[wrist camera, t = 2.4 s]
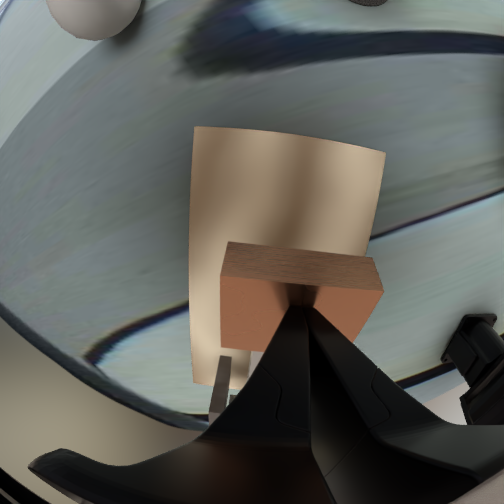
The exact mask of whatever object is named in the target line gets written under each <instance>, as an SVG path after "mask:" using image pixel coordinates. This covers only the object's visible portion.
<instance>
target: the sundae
mask: <svg viewBox="0 0 504 504" xmlns="http://www.w3.org/2000/svg"><path fill="white" fill-rule="evenodd" d="M350 1H352V2H355V3H358V4H361V5H365V6H378V5H381V4H383V3H385V2H386V1H387V0H350Z"/></svg>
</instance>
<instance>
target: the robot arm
mask: <svg viewBox="0 0 504 504" xmlns="http://www.w3.org/2000/svg"><path fill="white" fill-rule="evenodd" d="M496 320H497V316H496V315H495V314H486V315H466V316H465V317H464V318H463V320H462V322H461V324H460V326H459V328H458V330H457V332H456V333H455V335H454V337H453V339H452V341H451V343H450V344H449V346H448V348H447V350H446V351H445V353H444V355H443V356H442V358H441V361H442V363H450V362H453V363H454V364H455V366H456V368H457V369H458V371H459V372H460V374H461V376H463V377H464V379H465V380H466V382H467V384H468V385H469V387H470V389H469V390H468V391H467V392H466V393H465V394H463V395H462V396H461V397H460V401H461V407H462V409H463V413H464V416H465V419H466V422H467V425H457V424H452V423H449V422H447V421H445V420H443V419H441V418H440V417H438V416H437V415H435V414H434V413H433V412H431V411H430V410H429V409H427V408H426V407H425V406H423V405H422V404H421V403H420V402H418V401H417V400H416V399H414V398H413V397H412V396H411V395H409V394H408V393H407V392H406V391H404V390H403V389H402V388H401V387H399V386H398V385H397V384H396V383H395V382H394V381H393V380H391V379H390V378H389V377H388V376H387V375H386V374H385V373H384V372H383V371H382V370H381V369H380V368H377V366H376V365H375V364H374V363H373V362H372V361H371V360H370V359H369V358H368V357H367V356H366V355H365V354H364V353H362V352H361V351H360V350H359V349H358V348H357V347H356V346H355V345H354V344H353V343H352V342H351V341H350V340H349V339H348V338H347V337H345V336H344V335H343V334H342V333H341V332H340V331H339V330H338V329H337V328H336V327H335V326H334V325H333V324H332V323H331V322H330V321H329V320H327V319H326V318H325V317H324V316H323V315H322V314H321V313H320V312H319V311H318V310H317V309H316V308H314V307H305V306H304V307H301V306H293V305H289V306H288V308H287V310H286V312H285V314H284V316H283V318H282V319H281V321H280V323H279V325H278V327H277V329H276V331H275V333H274V335H273V337H272V338H271V340H270V342H269V344H268V346H267V348H266V350H265V351H264V353H263V355H262V357H261V359H260V361H259V362H258V364H257V366H256V367H255V369H254V371H253V373H252V374H251V376H250V378H249V379H248V381H247V382H246V384H245V385H244V387H243V388H242V389H241V390H240V392H239V393H238V394H237V396H236V397H235V398H234V399H233V400H232V401H231V403H230V404H229V405H228V406H227V407H226V408H225V409H224V410H223V412H222V413H221V414H220V415H219V416H218V417H217V418H216V419H215V420H214V421H213V423H212V424H211V425H210V426H209V427H208V428H207V429H206V430H205V431H204V432H203V433H202V434H200V435H199V436H198V437H197V438H195V439H194V440H192V441H191V442H189V443H187V444H185V445H182V446H180V447H178V448H175V449H173V450H171V451H168V452H166V453H163V454H161V455H158V456H156V457H153V458H151V459H148V460H145V461H143V462H140V463H137V464H133V465H128V466H114V465H107V464H103V463H100V462H97V461H95V460H92V459H90V458H88V457H85V456H83V455H81V454H79V453H76V452H74V451H71V450H68V449H62V448H60V449H57V450H55V451H52V452H49V453H46V454H44V455H42V456H39V457H38V458H36V459H35V460H34V461H32V462H31V463H30V464H29V465H28V469H29V470H30V471H31V472H32V473H34V474H35V475H36V476H38V477H39V478H40V479H42V480H43V481H45V482H46V483H48V484H49V485H50V486H52V487H53V488H55V489H56V490H58V491H59V492H61V493H62V494H64V495H66V496H67V497H69V498H71V499H72V500H74V501H76V502H77V503H79V504H504V341H503V340H502V338H501V337H500V336H499V335H498V334H497V332H496V331H495V330H494V329H493V328H492V327H493V325H494V324H495V322H496ZM0 504H51V503H49V502H48V501H46V500H45V499H43V498H41V497H40V496H38V495H37V494H35V493H34V492H32V491H31V490H30V489H28V488H27V487H25V486H24V485H22V484H21V483H20V482H18V481H17V480H16V479H14V478H13V477H12V476H11V475H9V474H8V473H7V472H6V471H4V470H3V469H2V468H1V467H0Z"/></svg>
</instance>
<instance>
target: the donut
mask: <svg viewBox="0 0 504 504" xmlns="http://www.w3.org/2000/svg"><path fill="white" fill-rule="evenodd" d="M46 3H47V5H48V8H49V10H50V13H51V15H52V16H53V18H54V19H55V20H56V21H57V23H58V24H59V25H60V26H61V28H63V29H64V30H66V31H67V32H69V33H70V34H72V35H73V36H75V37H76V38H81V39H87V40H93V41H97V40H102V39H105V38H108V37H112V36H114V35H116V34H118V33H120V32H121V31H122V30H123V29H124V28H125V27H126V26H127V25H129V24H130V23H131V22H132V20H133V19H134V17H135V15H136V14H137V12H138V10H139V8H140V4H141V0H46Z"/></svg>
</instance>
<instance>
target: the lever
mask: <svg viewBox="0 0 504 504" xmlns="http://www.w3.org/2000/svg"><path fill="white" fill-rule="evenodd" d="M383 292H384V289H383V286H382V283H381V281H380V278H379V275H378V272H377V269H376V267H375V264H374V261H373V258H371V257H363V256H354V255H346V254H337V253H329V252H320V251H311V250H303V249H294V248H285V247H276V246H267V245H258V244H249V243H240V242H231V241H228V243H227V247H226V251H225V256H224V260H223V264H222V268H221V273H220V336H221V347H222V348H230V349H238V350H247V351H251V356H250V362H249V368H248V375H247V380H246V382H247V381H248V379H249V378H250V376H251V374H252V373H253V371H254V369H255V367H256V366H257V364H258V362H259V361H260V359H261V357H262V355H263V353H264V351H265V350H266V348H267V346H268V344H269V342H270V340H271V338H272V337H273V335H274V333H275V331H276V329H277V327H278V325H279V323H280V321H281V319H282V318H283V316H284V314H285V312H286V310H287V308H288V306H289V305H293V306H301V307H304V306H305V307H314V308H316V309H317V310H318V311H319V312H320V313H321V314H322V315H323V316H324V317H325V318H326V319H327V320H329V321H330V322H331V323H332V324H333V325H334V326H335V327H336V328H337V329H338V330H339V331H340V332H341V333H342V334H343V335H344V336H345V337H347V338H348V339H349V340H350V341H351V342H352V343H353V341H354V340H355V338H356V337H357V335H358V334H359V332H360V331H361V329H362V327H363V326H364V324H365V323H366V321H367V319H368V318H369V316H370V315H371V313H372V311H373V310H374V308H375V306H376V304H377V303H378V301H379V299H380V298H381V296H382V294H383ZM236 396H237V395H230V400H229V404H230V403H231V401H232V400H233V399H234V398H235V397H236Z"/></svg>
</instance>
